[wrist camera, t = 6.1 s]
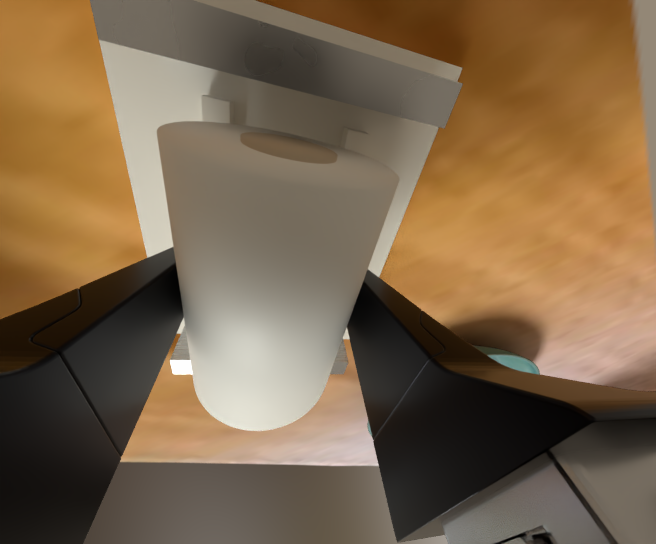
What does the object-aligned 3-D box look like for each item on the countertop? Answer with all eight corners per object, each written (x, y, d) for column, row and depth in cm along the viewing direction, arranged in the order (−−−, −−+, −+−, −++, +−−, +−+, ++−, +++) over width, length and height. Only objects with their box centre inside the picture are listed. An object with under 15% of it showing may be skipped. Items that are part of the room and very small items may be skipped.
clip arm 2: (403, 118, 9) (444, 128, 7) (159, 55, 7) (98, 39, 5) (414, 84, 9) (463, 83, 6) (153, 8, 7) (81, -35, 5)
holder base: (351, 327, 17) (357, 349, 16) (170, 319, 15) (158, 344, 13) (447, 69, 9) (476, 66, 8) (102, -41, 7) (52, -75, 5)
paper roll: (320, 319, 13) (336, 429, 9) (212, 313, 12) (171, 436, 8) (367, 147, 8) (446, 203, 4) (200, 110, 7) (84, 137, 3)
